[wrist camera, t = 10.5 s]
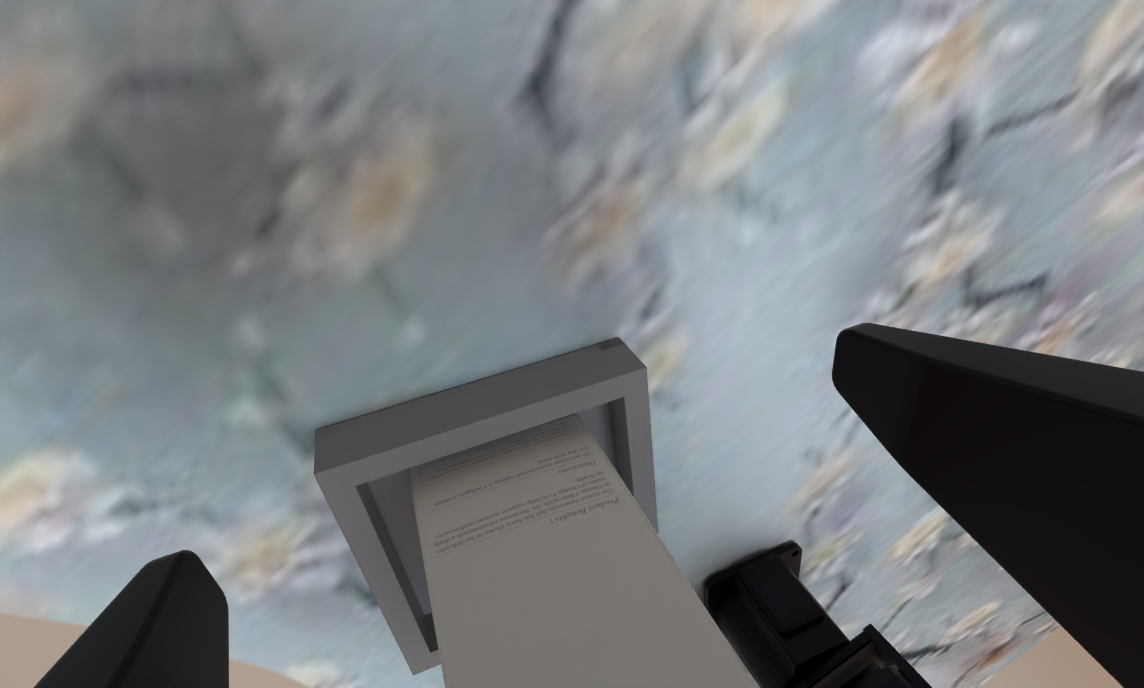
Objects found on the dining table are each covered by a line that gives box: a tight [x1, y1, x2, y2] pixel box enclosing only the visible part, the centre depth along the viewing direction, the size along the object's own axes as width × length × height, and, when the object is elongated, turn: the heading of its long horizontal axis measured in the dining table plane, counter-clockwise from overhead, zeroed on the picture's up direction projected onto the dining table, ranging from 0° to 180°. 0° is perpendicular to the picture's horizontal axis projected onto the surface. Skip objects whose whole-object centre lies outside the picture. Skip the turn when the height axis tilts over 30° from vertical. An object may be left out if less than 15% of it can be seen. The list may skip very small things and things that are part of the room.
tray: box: [314, 338, 658, 675], centre depth 24 cm, size 12×12×2 cm
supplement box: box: [408, 414, 760, 688], centre depth 19 cm, size 7×7×13 cm
